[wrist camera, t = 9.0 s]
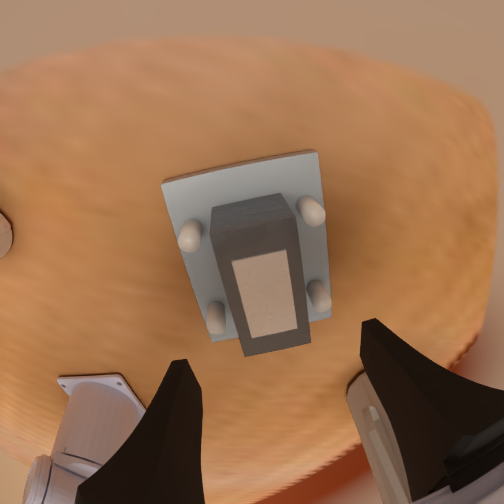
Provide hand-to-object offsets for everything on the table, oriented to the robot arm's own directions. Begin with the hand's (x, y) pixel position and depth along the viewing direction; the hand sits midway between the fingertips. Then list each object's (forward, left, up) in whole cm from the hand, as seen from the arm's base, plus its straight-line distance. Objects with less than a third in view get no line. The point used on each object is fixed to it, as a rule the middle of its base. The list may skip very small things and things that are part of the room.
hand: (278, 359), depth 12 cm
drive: (0, 0, -8) cm, 8 cm away
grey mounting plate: (0, 0, -9) cm, 9 cm away
